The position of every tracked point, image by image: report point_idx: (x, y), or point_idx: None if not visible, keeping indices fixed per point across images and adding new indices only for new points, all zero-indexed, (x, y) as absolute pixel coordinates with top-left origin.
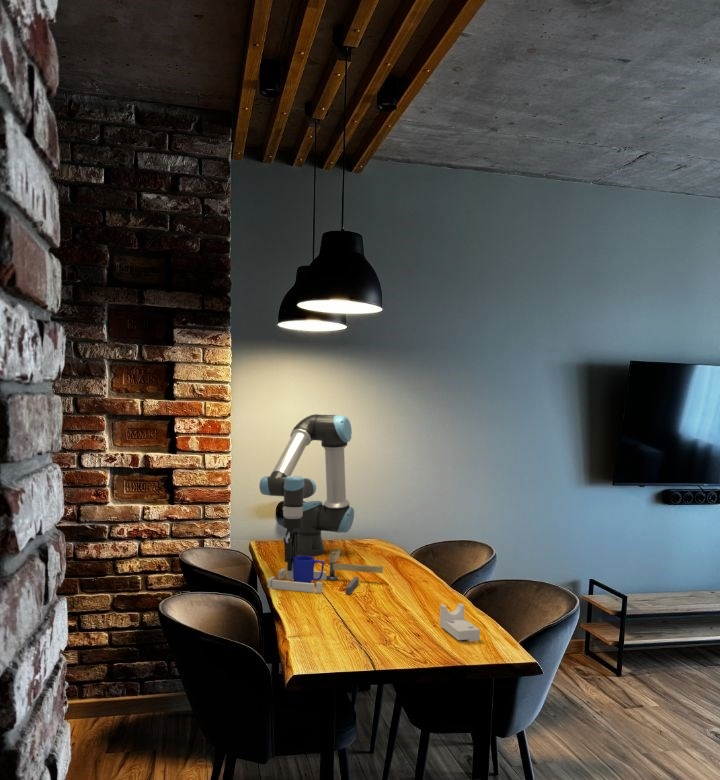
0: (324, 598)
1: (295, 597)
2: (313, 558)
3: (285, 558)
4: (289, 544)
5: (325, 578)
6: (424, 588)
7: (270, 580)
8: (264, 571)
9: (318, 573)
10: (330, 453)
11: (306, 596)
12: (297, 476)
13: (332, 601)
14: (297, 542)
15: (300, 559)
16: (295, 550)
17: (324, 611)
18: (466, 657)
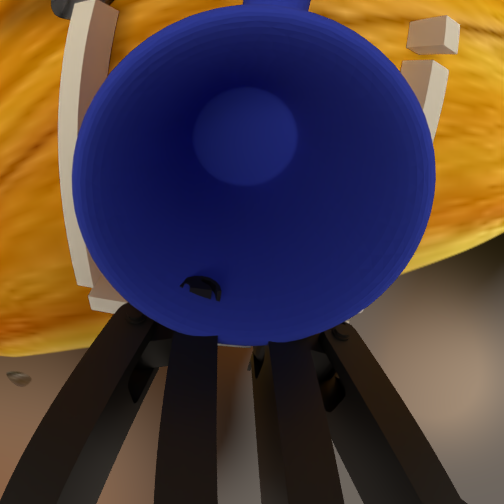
0: (480, 39)
1: (473, 166)
2: (281, 14)
3: (341, 384)
4: (448, 499)
5: (113, 10)
6: None
7: (347, 320)
8: (85, 346)
9: (89, 55)
10: None
11: (466, 114)
12: None
13: (499, 23)
14: (63, 489)
15: (147, 249)
16: (184, 411)
17: None
18: None
